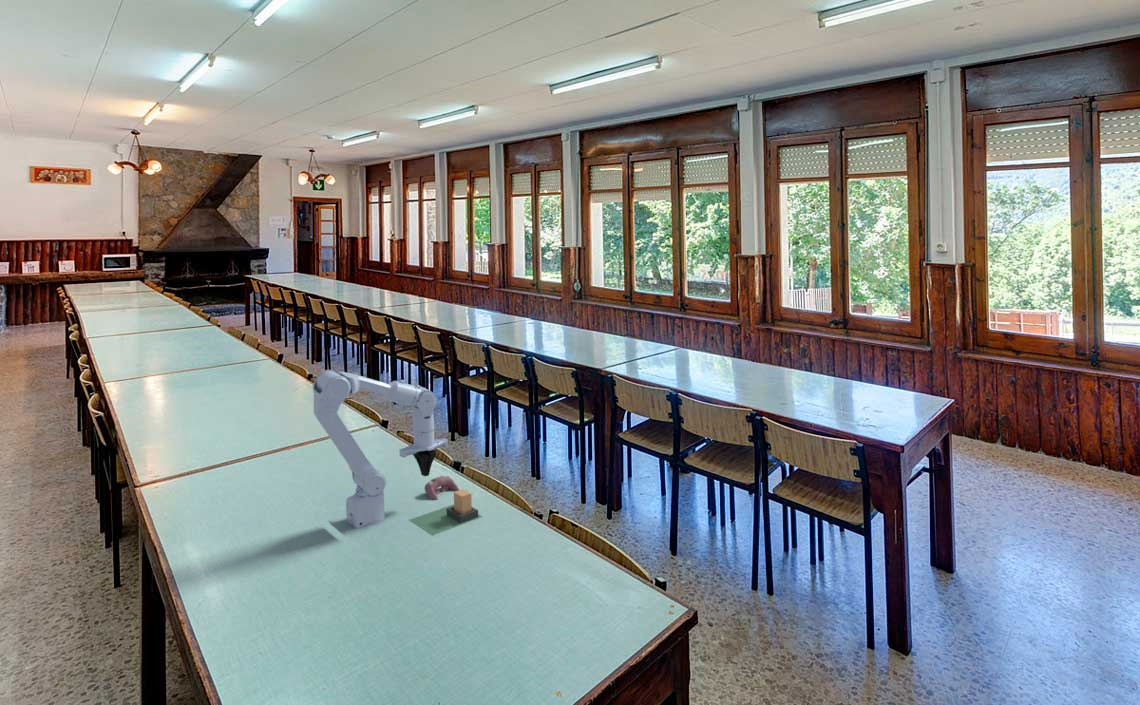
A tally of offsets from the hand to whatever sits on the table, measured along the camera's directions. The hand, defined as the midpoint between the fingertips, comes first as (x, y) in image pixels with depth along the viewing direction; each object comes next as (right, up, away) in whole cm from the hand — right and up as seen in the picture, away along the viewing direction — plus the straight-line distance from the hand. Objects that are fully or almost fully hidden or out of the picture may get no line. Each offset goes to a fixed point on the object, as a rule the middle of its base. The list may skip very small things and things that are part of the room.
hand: (425, 475), depth 176 cm
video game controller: (+3, -9, +9) cm, 13 cm away
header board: (+8, -12, -7) cm, 16 cm away
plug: (+12, -10, -6) cm, 17 cm away
